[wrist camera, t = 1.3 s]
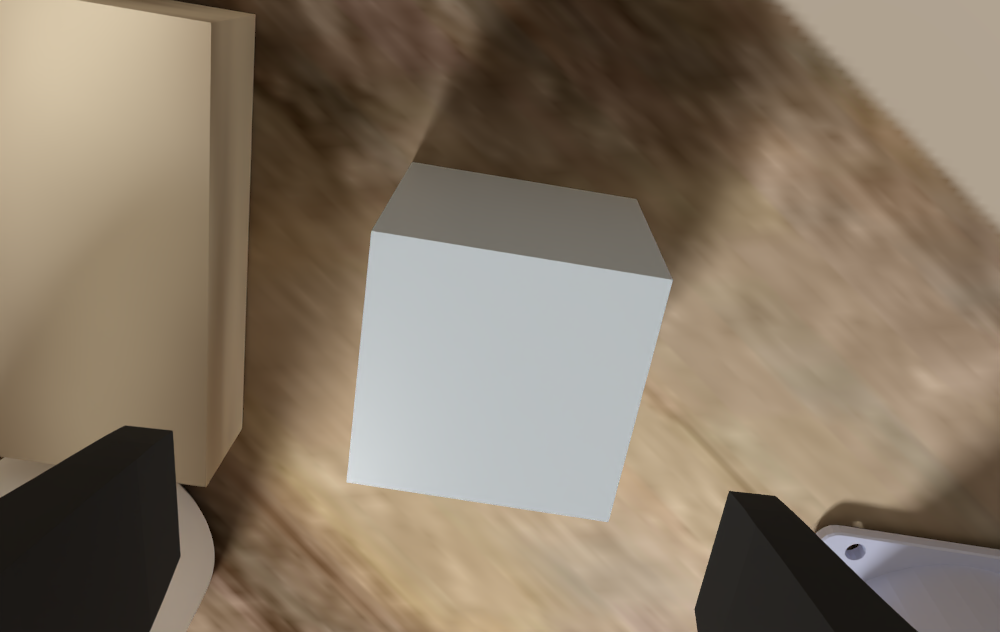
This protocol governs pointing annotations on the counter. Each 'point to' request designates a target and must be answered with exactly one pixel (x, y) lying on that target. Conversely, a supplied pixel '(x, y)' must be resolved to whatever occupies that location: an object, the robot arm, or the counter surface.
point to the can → (193, 548)
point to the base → (123, 225)
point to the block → (505, 341)
